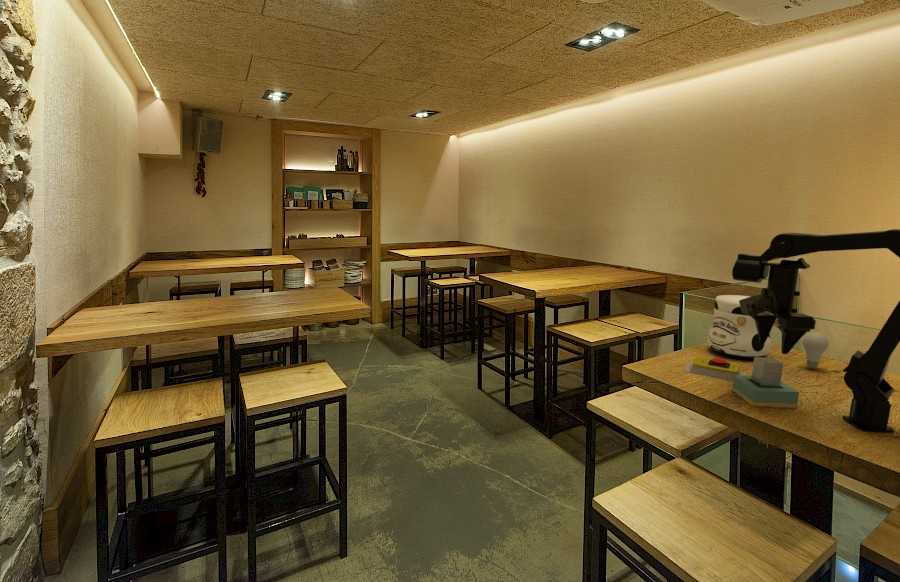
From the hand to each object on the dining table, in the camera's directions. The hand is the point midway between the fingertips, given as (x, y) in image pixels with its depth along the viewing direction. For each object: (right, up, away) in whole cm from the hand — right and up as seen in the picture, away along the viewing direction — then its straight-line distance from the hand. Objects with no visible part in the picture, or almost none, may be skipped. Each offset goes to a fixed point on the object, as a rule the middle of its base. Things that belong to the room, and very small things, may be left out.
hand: (772, 348), depth 118 cm
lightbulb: (+28, -9, +24) cm, 38 cm away
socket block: (-1, -13, +2) cm, 13 cm away
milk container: (+14, -7, +38) cm, 41 cm away
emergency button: (-3, -10, +20) cm, 23 cm away
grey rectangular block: (-1, -12, +2) cm, 12 cm away
